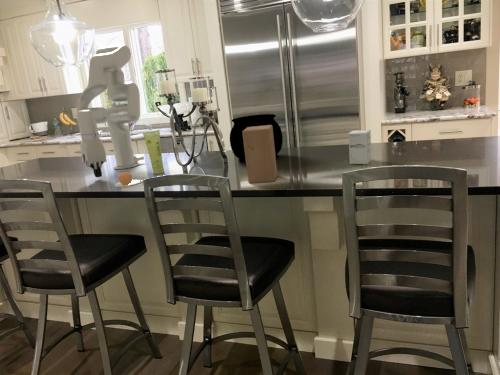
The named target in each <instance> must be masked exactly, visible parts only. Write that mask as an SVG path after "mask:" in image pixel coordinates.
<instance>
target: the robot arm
mask: <svg viewBox="0 0 500 375" xmlns="http://www.w3.org/2000/svg"><path fill="white" fill-rule="evenodd" d="M131 57H132V53H131V49H130V47H129V46H128V45H126V44H116V45H109V46H102V47H99V48H97V50H96V51H95V54H94V55H93V56H91V58H90V59H89V67H88V68H89V69H88V83H87V86H86V88H85V89H84V90H83V91H82V93H81V94H80V96H79V97H78V100H77V104H76V120H77V124H78V129H79V134H80V138H81V141H80V154H81V161H82V163H83V164H84V168H85V167H86V168H87V167H88V168H91V169H92V171H93V175H94V177H95V178H101V177H103V173H102V166H103V164H104V163H106V162H107V154H106V150H105V147H104V143H103V141H102V139H101V138H100V137H101V135H102V134H101V133H100V132H99V130H98V125H99V124H105V123H107V126H108V130H109V135H110V139H111V144H112V151H113V155H114V159H115V165H113V169H115V170H125V169H130V168H134V167H136V166H139V161H144V160H145V158H144V157H145V156H143V155H140V156H136V155H135V154H134V148H133V142H132V137H131V132H130V130H129V128H128V127H127V126H126V124H132V123H137V122H138V121H139V120H140V118H141V100H140V99H141V98H140V96H141V95H140V89H139V86H138V85H137V83H135V82H133V81H125V73H124V71H123V70H122V68H124V67H125V66H126V65H127V64H128V63H129V62H130V61H131ZM105 91H107V92H106V94H107V95H106V96H107V99H108V101H109V102H111V103H113V105H109V106H107V107H103V106H102V107H101V106H97V107H89V106H90V104H91V103H92V101H93V100H94V99H95V98H97V97H99V96H100V95H101V94H102V93H104V92H105ZM126 102H127V103H126ZM114 103H115V104H114ZM116 103H119V104H116ZM120 103H123V104H120Z"/></svg>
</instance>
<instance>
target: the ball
mask: <svg viewBox="0 0 500 375" xmlns="http://www.w3.org/2000/svg"><path fill="white" fill-rule="evenodd" d="M132 179H133V176H132V175H131V173H130V172H128V171H124V172H123V171H122V172H120V174H119V175H118V183H119V182H120V183H121V184H123V185H127V184H129V183H131V181H132Z"/></svg>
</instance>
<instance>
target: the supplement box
mask: <svg viewBox="0 0 500 375" xmlns="http://www.w3.org/2000/svg"><path fill="white" fill-rule="evenodd" d="M371 140H372V139H371V130H370V129H369V130H368V129H363V130H362V129H361V130H357V129H356V130H352V131H350V132H348V151H349V152H348V153H349V154H348V155H349V164H350V165H368V164H369V163H370V162H371V161H372V142H371Z"/></svg>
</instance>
